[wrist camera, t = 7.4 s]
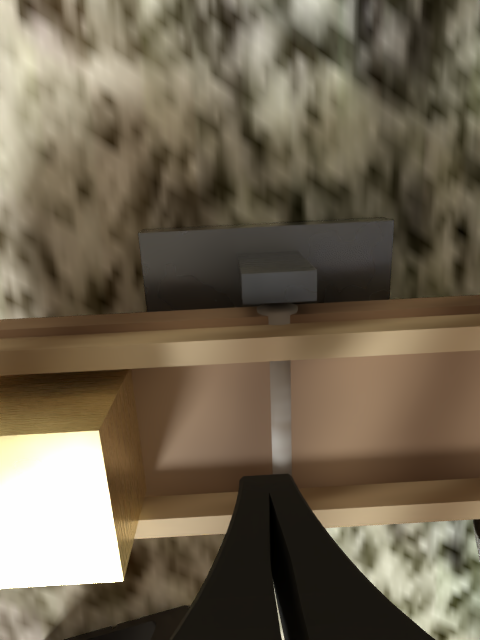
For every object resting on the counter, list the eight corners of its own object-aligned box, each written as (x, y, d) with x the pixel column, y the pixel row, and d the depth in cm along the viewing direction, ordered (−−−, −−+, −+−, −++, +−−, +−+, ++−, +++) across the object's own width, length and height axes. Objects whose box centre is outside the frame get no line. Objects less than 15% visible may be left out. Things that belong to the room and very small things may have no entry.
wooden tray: (606, 284, 16) (672, 304, 14) (565, 475, 19) (614, 519, 16) (-64, 319, 16) (-115, 344, 13) (-13, 509, 18) (-48, 558, 16)
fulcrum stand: (383, 217, 19) (438, 232, 14) (369, 478, 23) (408, 559, 18) (143, 229, 18) (116, 248, 14) (172, 491, 22) (159, 575, 18)
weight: (130, 366, 15) (98, 430, 11) (146, 489, 17) (123, 581, 13) (-18, 374, 15) (-100, 441, 11) (12, 496, 17) (-51, 591, 13)
